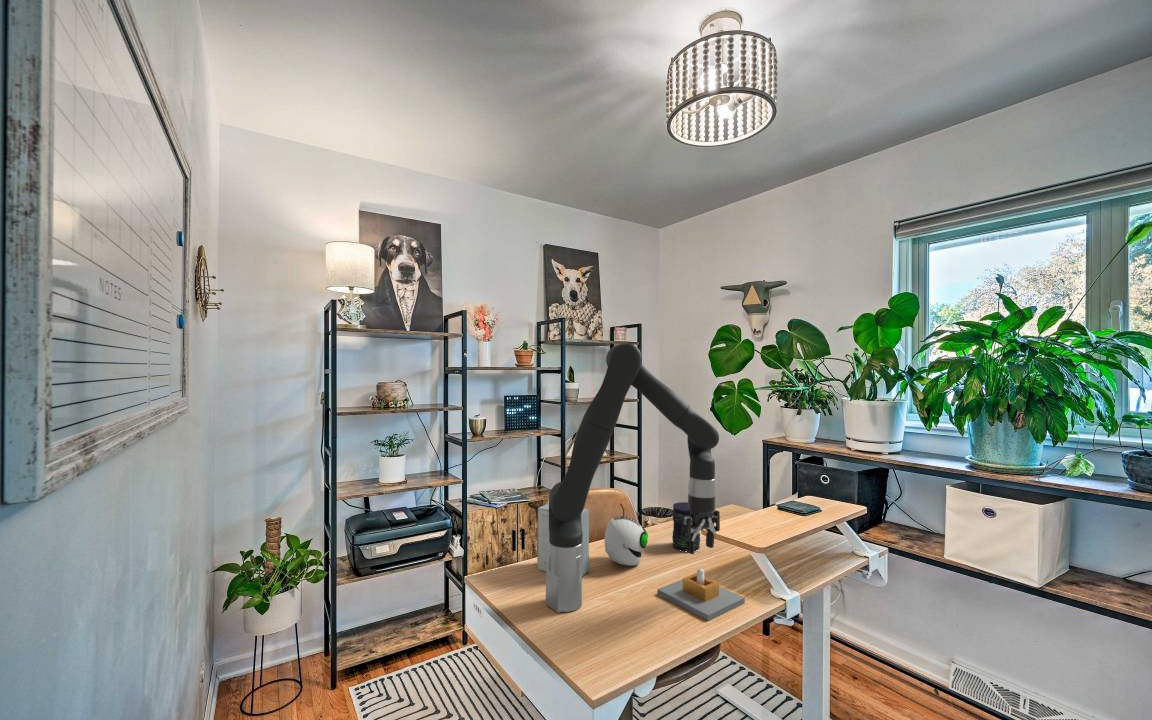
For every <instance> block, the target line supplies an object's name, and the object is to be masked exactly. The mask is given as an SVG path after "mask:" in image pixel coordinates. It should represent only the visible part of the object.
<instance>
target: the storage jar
mask: <svg viewBox="0 0 1152 720" xmlns="http://www.w3.org/2000/svg"><path fill="white" fill-rule="evenodd" d="M672 508H673V509H672V522H673V527H672V528H673V530H672V535H671V536H672V548H673V547H674V548H675V549H674V548H673V549H674V550H676V549H678V550H681V551H686V539H684V538H681V525H682V517H683V516H685V517H689V516H690V513H691V512H690V510H689V508H688V501H687V502H686V501H685V502H684V501H683V502H676V503H673V504H672ZM692 529H695V528H694V527H692ZM686 533H687V531H686V530H685V534H686ZM692 534H693V533H691V536H692ZM694 541H695V550H694V551H696V550H698V549H699V548H700V547H701V546H700V545H701V544H700V543H701V532H699V534H697V535H696V537H695V540H694ZM678 550H677V551H678ZM699 550H700V549H699ZM681 551H680V552H681ZM696 552H697V551H696Z"/></svg>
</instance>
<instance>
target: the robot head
mask: <svg viewBox="0 0 1152 720" xmlns="http://www.w3.org/2000/svg"><path fill="white" fill-rule="evenodd" d="M619 506H620V507H621V508H622V511H623V512H622V515H621V516H615V517H613V518H612V519H610V520H609V521H608V524H607V525H606V529H605V532H604V533H605V534H604V551H605V553H606V554H607V556H608V557H609V558H610V560H611V561H612V562H615V563H616V564H620V565H621V566H629V567H633V566H638V565H639V564H640V563H641V561H642V552H643V551H644V549H645V548H646V547H647V544H648V541H649V540H648V538H649V534H648V531H647V530H646V529H645V527H644V526H642V525H641V524H640V523H638V521H637V520H634V519H633V518H631V517H628V516H626V515H625V507H624V506H623V503H620V504H619Z"/></svg>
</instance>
